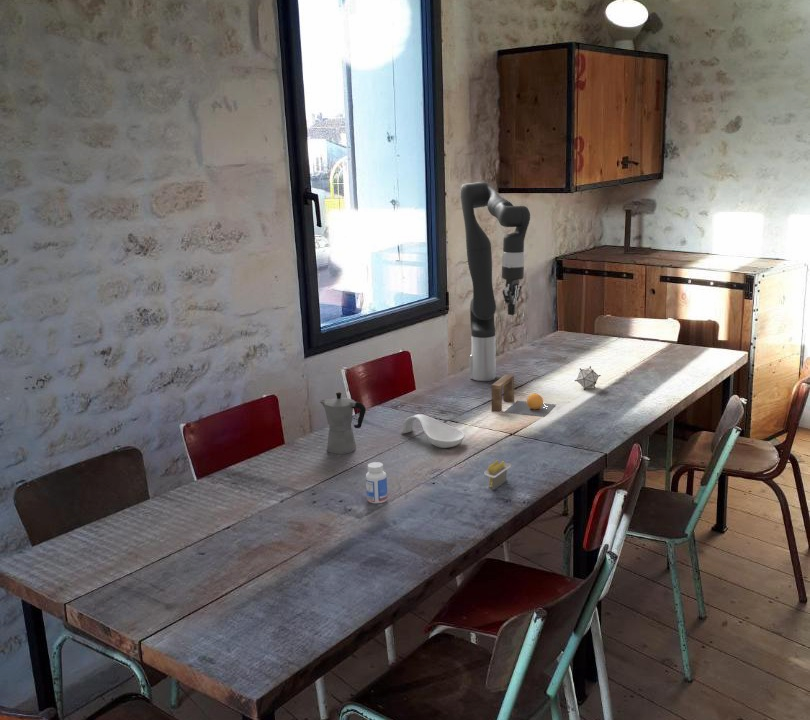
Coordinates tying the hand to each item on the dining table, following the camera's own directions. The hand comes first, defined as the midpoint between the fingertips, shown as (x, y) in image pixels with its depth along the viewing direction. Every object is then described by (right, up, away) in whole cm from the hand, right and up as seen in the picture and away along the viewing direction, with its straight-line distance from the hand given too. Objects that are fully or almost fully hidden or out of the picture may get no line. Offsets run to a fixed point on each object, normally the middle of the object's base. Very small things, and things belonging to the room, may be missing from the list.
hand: (511, 314), depth 297 cm
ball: (+8, -30, -4) cm, 31 cm away
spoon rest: (-29, -41, -30) cm, 59 cm away
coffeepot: (-56, -43, -36) cm, 79 cm away
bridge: (-3, -32, +2) cm, 32 cm away
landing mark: (+6, -33, -2) cm, 33 cm away
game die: (+31, -27, +20) cm, 45 cm away
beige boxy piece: (-12, -50, -66) cm, 84 cm away
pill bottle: (-44, -53, -74) cm, 101 cm away
